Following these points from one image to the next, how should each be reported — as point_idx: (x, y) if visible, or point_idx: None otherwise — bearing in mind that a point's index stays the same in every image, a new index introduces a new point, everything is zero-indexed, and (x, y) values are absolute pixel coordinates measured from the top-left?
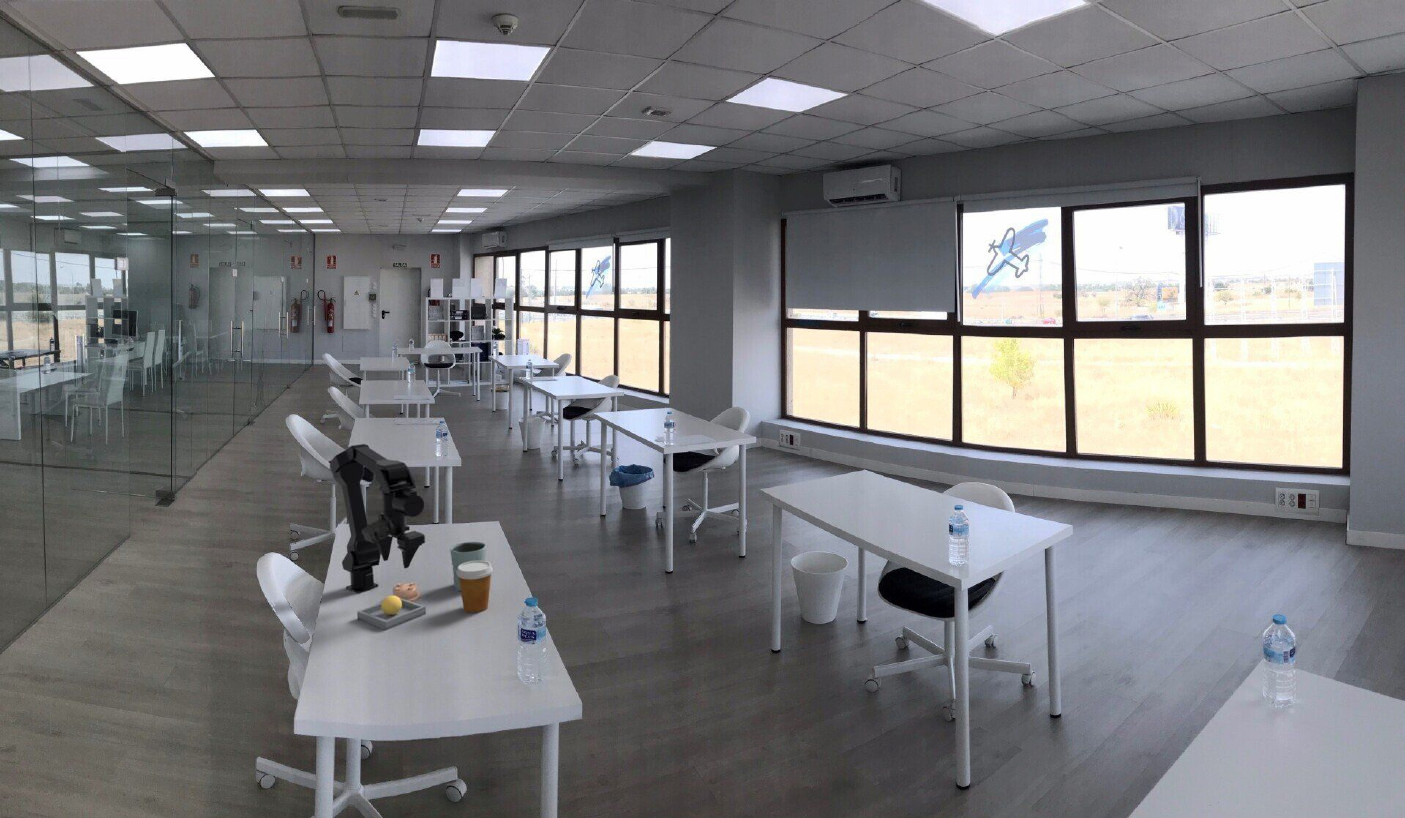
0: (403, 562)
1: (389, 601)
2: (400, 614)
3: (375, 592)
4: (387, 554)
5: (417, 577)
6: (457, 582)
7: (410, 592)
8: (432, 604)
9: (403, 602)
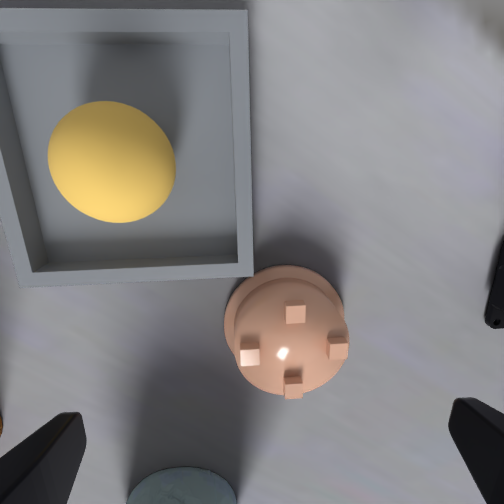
0: (9, 477)
1: (63, 128)
2: None
3: (445, 281)
4: (500, 495)
5: (417, 447)
6: (172, 501)
7: (235, 336)
8: (126, 345)
9: (182, 262)
